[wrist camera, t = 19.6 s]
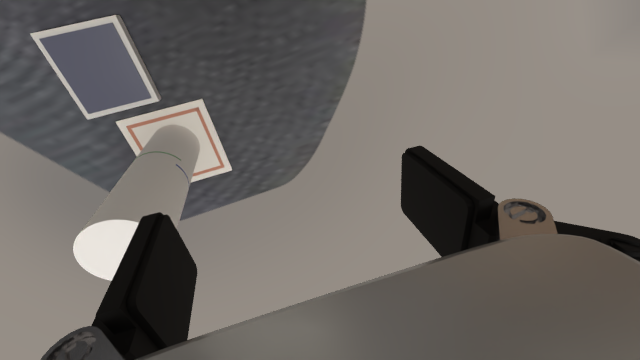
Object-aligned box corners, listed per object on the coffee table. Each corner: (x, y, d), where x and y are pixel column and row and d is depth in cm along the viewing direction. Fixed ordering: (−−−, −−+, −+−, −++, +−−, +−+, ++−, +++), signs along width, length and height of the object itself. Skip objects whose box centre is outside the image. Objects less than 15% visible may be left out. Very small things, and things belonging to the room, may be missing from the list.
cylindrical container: (173, 172, 48) (122, 293, 27) (140, 139, 44) (50, 248, 23) (209, 151, 47) (186, 255, 26) (179, 116, 44) (124, 205, 22)
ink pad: (37, 33, 35) (28, 33, 33) (119, 15, 36) (114, 14, 35) (92, 116, 41) (86, 120, 39) (161, 98, 42) (158, 101, 40)
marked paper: (115, 121, 42) (115, 121, 42) (202, 98, 43) (202, 99, 43) (159, 191, 49) (158, 192, 48) (232, 169, 50) (232, 170, 50)
